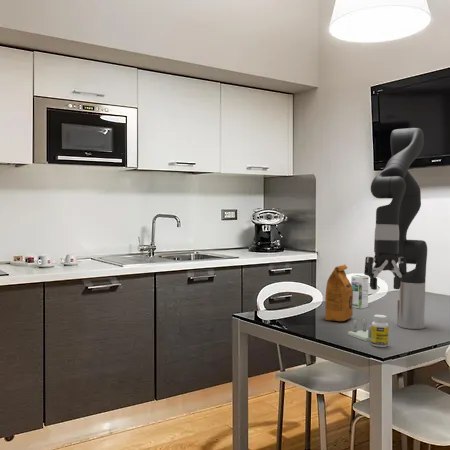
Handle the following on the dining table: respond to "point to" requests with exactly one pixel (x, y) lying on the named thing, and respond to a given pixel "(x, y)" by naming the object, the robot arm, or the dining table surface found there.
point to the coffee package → (338, 296)
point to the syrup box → (360, 291)
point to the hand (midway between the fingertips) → (385, 289)
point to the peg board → (361, 331)
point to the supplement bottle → (379, 331)
